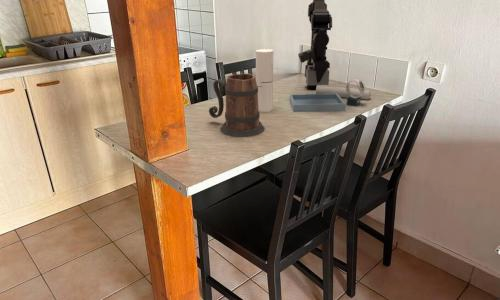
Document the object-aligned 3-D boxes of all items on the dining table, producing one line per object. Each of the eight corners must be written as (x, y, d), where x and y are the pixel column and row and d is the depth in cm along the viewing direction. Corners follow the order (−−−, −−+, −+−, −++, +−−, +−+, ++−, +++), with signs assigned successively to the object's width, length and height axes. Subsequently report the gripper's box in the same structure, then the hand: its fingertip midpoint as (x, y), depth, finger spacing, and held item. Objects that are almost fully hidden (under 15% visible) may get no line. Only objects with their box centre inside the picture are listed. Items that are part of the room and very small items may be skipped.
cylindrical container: (271, 112, 157) (271, 52, 147) (254, 111, 158) (254, 51, 148) (273, 107, 163) (274, 49, 153) (257, 106, 165) (257, 48, 154)
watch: (360, 107, 161) (363, 82, 157) (342, 104, 165) (345, 80, 161) (364, 103, 166) (367, 79, 161) (347, 101, 170) (349, 77, 165)
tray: (289, 100, 172) (289, 94, 171) (336, 99, 172) (337, 93, 171) (293, 111, 157) (293, 104, 156) (345, 110, 157) (345, 104, 156)
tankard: (273, 125, 143) (273, 74, 134) (249, 140, 130) (248, 84, 121) (223, 115, 154) (221, 67, 146) (197, 128, 141) (193, 76, 133)
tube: (371, 89, 173) (318, 85, 181) (371, 88, 168) (316, 84, 176) (370, 101, 174) (317, 96, 182) (369, 100, 169) (315, 95, 177)
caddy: (305, 82, 163) (306, 64, 160) (326, 82, 163) (327, 63, 159) (307, 85, 158) (308, 66, 155) (328, 84, 158) (329, 66, 155)
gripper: (297, 40, 162) (296, 76, 169) (302, 47, 145) (301, 86, 152) (322, 40, 162) (320, 75, 168) (331, 47, 145) (328, 86, 151)
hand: (317, 80), depth 160 cm, fingers closed on caddy, 5 cm apart
